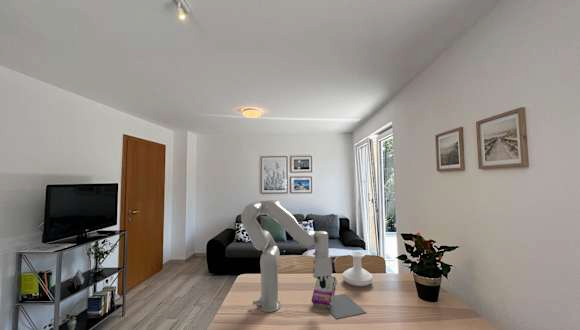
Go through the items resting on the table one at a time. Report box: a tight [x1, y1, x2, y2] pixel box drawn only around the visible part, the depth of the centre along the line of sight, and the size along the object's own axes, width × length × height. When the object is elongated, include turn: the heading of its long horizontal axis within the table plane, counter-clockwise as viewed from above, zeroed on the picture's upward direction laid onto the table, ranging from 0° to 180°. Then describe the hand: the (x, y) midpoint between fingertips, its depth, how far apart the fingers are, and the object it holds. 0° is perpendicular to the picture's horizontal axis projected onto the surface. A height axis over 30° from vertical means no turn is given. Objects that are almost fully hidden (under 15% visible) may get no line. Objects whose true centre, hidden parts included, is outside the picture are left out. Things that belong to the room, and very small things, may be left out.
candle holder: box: [342, 251, 373, 288], centre depth 169 cm, size 20×20×19 cm
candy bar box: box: [311, 275, 338, 309], centre depth 142 cm, size 11×5×16 cm
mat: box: [325, 293, 367, 320], centre depth 139 cm, size 18×22×1 cm
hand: (322, 287), depth 136 cm, fingers closed
